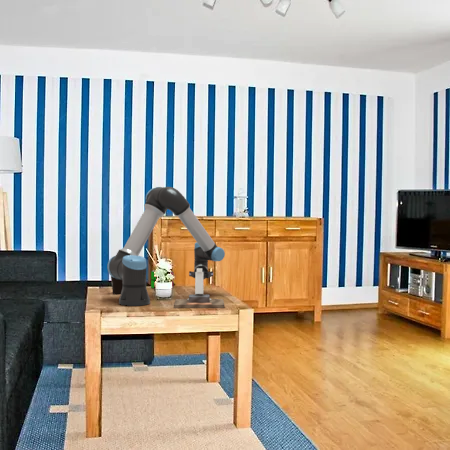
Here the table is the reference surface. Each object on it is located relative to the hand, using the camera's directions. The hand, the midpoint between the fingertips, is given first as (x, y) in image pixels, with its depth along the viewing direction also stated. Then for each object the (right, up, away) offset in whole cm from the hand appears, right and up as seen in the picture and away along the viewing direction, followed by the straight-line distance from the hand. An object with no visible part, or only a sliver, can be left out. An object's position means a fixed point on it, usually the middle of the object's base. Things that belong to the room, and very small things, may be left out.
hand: (201, 277), depth 317 cm
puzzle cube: (-25, -11, +51) cm, 58 cm away
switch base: (-1, -13, -8) cm, 15 cm away
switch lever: (-1, -8, -8) cm, 12 cm away
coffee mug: (-46, -11, +30) cm, 56 cm away
